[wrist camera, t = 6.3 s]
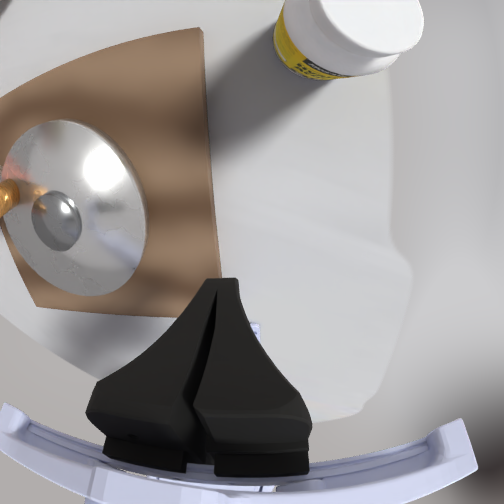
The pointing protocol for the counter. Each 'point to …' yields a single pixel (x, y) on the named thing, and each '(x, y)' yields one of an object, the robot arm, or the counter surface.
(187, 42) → the post board
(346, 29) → the supplement bottle
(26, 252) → the silver rounded shallow piece
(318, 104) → the counter surface
